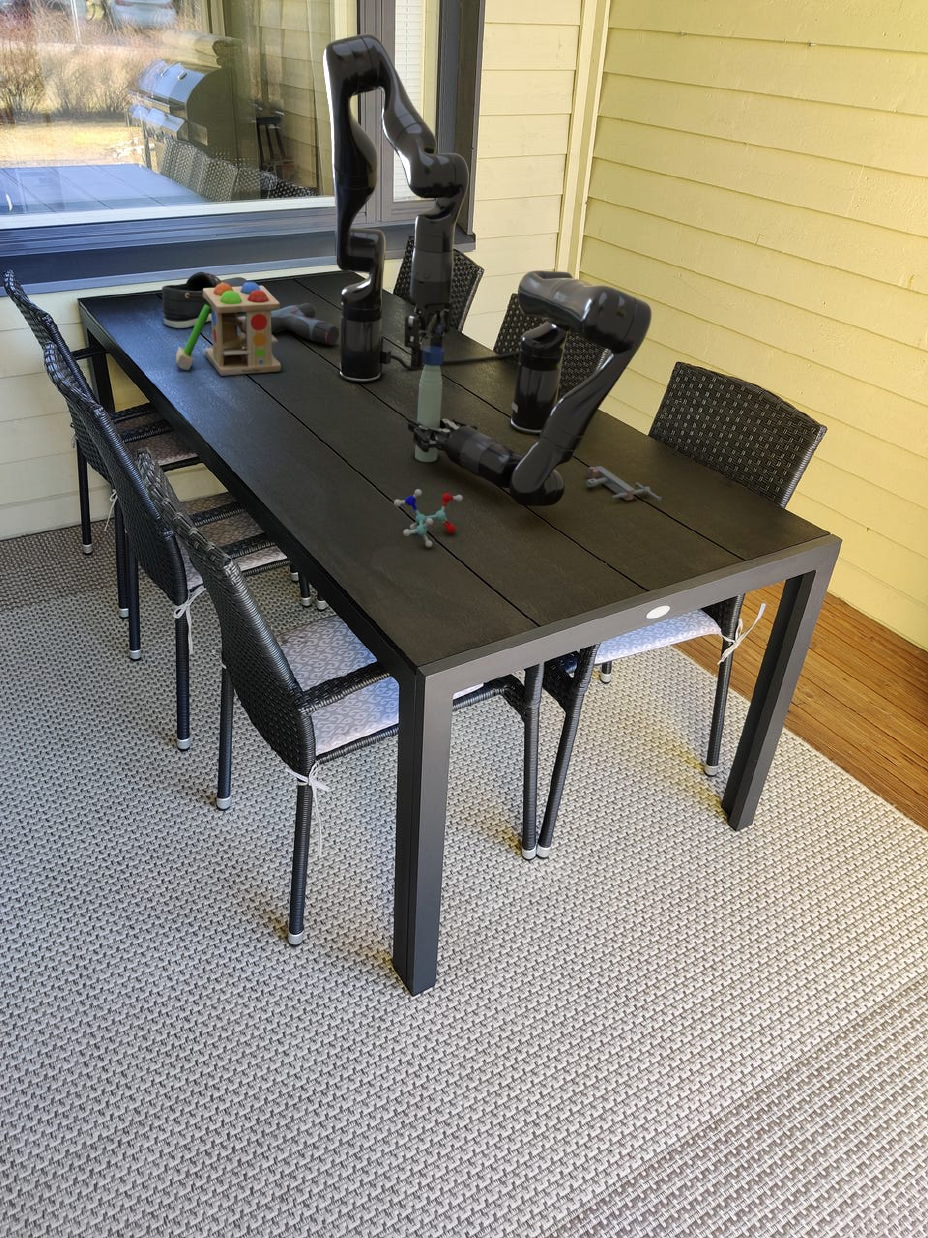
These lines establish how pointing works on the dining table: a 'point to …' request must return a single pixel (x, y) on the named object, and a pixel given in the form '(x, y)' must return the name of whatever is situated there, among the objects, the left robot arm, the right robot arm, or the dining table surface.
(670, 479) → the dining table surface
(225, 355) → the pounding bench toy
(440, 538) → the dining table surface
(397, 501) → the molecular model
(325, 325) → the power drill
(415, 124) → the left robot arm
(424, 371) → the bottle
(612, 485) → the clamp
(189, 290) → the boat shoe
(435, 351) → the cap
